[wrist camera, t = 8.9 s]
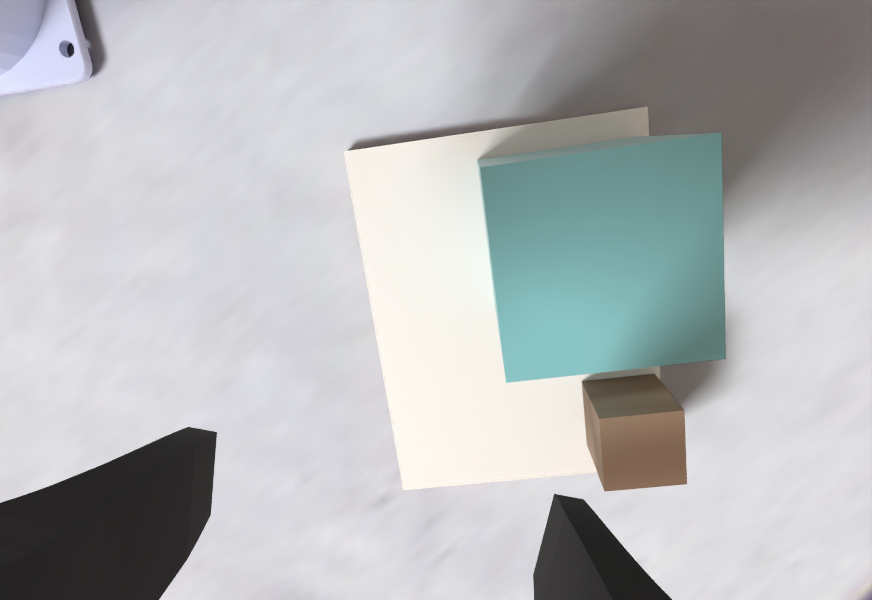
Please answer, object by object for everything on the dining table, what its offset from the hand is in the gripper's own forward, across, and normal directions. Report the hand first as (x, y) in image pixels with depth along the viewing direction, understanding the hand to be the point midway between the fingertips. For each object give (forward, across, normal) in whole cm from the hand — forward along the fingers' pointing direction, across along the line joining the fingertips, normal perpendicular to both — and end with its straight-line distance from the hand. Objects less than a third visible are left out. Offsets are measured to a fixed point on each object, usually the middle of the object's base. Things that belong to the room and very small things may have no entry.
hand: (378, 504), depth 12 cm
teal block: (+9, -4, -5) cm, 12 cm away
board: (+10, -3, -2) cm, 11 cm away
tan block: (+9, -8, +1) cm, 12 cm away
